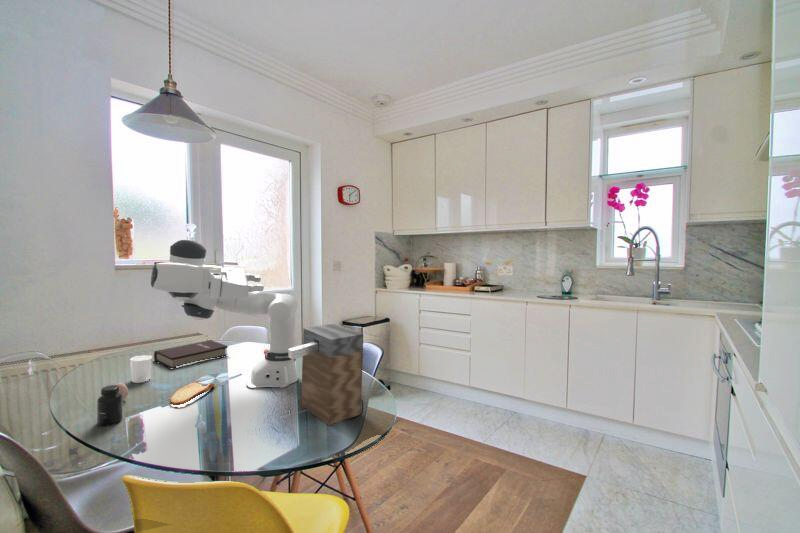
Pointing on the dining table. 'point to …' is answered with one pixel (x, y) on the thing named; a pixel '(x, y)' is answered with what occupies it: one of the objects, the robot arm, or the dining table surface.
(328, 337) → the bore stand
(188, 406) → the dining table surface
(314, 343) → the steel bar
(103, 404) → the supplement bottle
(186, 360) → the book
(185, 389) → the slice of bread
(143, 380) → the white cup
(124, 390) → the egg
